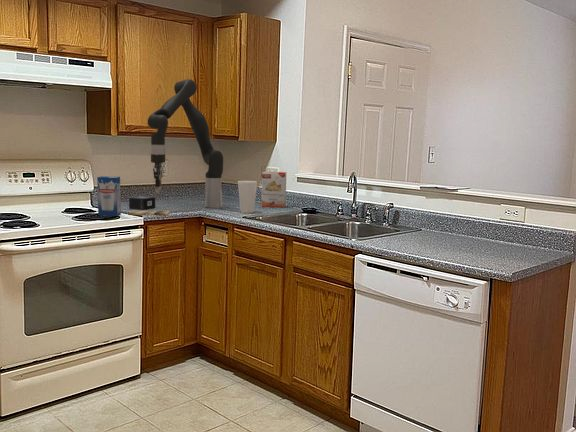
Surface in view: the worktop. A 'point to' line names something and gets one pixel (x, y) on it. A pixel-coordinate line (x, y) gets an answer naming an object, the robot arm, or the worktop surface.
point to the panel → (149, 212)
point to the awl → (158, 189)
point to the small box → (142, 202)
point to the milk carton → (109, 196)
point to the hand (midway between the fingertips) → (158, 186)
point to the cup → (247, 195)
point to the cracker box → (273, 189)
